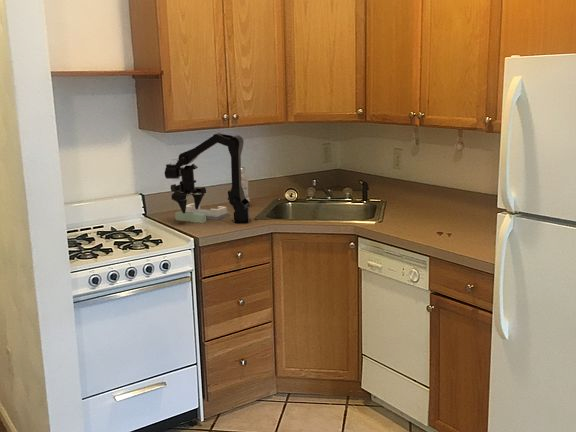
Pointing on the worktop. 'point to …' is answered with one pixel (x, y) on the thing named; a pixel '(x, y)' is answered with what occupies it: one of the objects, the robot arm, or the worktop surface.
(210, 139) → the robot arm
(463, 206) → the worktop surface
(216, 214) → the cradle
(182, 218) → the pale green bar
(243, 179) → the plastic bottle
